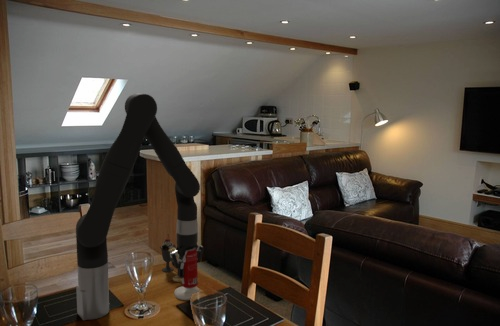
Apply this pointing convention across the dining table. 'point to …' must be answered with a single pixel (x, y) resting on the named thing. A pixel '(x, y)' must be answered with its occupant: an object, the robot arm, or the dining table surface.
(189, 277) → the beverage can
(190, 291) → the saucer
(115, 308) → the dining table surface
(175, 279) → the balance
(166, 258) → the sundae
